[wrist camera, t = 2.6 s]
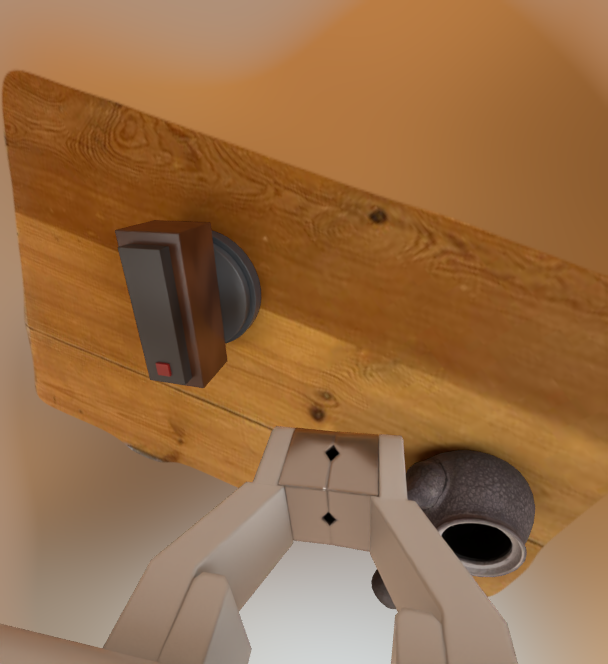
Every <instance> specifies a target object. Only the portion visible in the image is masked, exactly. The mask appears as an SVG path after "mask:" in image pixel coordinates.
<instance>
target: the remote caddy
mask: <svg viewBox="0 0 608 664" xmlns="http://www.w3.org/2000/svg"><path fill="white" fill-rule="evenodd" d="M115 233H116V237H117V241H118V245H119V247H118V250H119V255H120V259H121V263H122V267H123V271H124V275H125V279H126V283H127V287H128V291H129V295H130V299H131V303H132V307H133V312H134V316H135V320H136V324H137V328H138V332H139V336H140V340H141V344H142V348H143V352H144V356H145V360H146V365H147V369H148V373H149V377H150V380H155V381H161V382H168V383H174V384H180V385H187V386H193V387H199V388H204V387H205V386H206V385H207V384H208V383H209V382H210V380H211V379H212V378H213V377H214V376H215V375H216V373H217V372H218V371H219V370H220V369H221V368H222V367H223V365H224V364H225V363H226V362H227V354H226V346H225V342H226V341H228V340H229V339H231V338H232V337H233V336H235V335H236V334H237V333H238V331H239V330H240V329H241V328H242V327H243V325H244V324H245V322H246V320H247V318H248V314H249V311H250V292H249V288H248V284H247V281H246V279H245V276H244V274H243V272H242V270H241V269H240V267H239V266H238V264H237V263H236V262H235V260H234V259H233V258H232V257H231V256H230V255H229V254H228V253H227V252H226V251H225V250H223V249H222V248H220V247H219V246H217V245H216V244H214V243H213V239H212V231H211V223H210V222H186V221H160V220H154V221H150V222H146V223H142V224H138V225H134V226H130V227H126V228H122V229H117V230H115Z"/></svg>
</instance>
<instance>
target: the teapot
mask: <svg viewBox="0 0 608 664" xmlns="http://www.w3.org/2000/svg"><path fill="white" fill-rule="evenodd" d="M406 486H407V499H408V500H410V501H415V502H416V503H417V504H418V506H419V507H420V508H421V510H422V511H423V512H424V514H425V515H426V516H427V518H428V519H429V520H430V522H431V523H432V524H433V526H434V527H435V528H436V530H437V531H438V532H439V534H440V535H441V536H442V538H443V539H444V540H445V542H446V543H447V544H448V546H449V547H450V548H451V549H452V551H453V552H454V553H455V555H456V556H457V557H458V559H459V560H460V561H461V563H462V564H463V565H464V567H465V568H466V569H467V571H468V572H469V573H470V575H473V576H478V577H497V576H502V575H506V574H508V573H510V572H513V571H515V570H517V569H518V568H519V567H520V566H521V565H522V564H523V562H524V561H525V558H526V547H525V543H526V541H527V539H528V537H529V535H530V532H531V529H532V526H533V523H534V516H535V504H534V498H533V494H532V491H531V489H530V487H529V484H528V483H527V481H526V480H525V478H524V477H523V476H522V474H521V473H520V472H519V471H518V470H517V469H516V468H515V467H513V466H512V465H510V464H509V463H507V462H506V461H504V460H502V459H500V458H497V457H495V456H493V455H490V454H486V453H482V452H477V451H471V450H458V451H451V452H445V453H440V454H438V455H436V456H434V457H431V458H429V459H427V460H425V461H422V462H418V463H415V464H414V465H412V466H411V467H410V468H409V469H408V471H407V473H406ZM372 589H373V591H374V593H375V595H376V597H377V598H378V599H379V601H380V602H381V603H383V604H384V605H385V606H386V607H388V608H390V609H396V607H395V605H394V603H393V601H392V599H391V597H390V595H389V592H388V590H387V588H386V586H385V584H384V582H383V580H382V578H381V576H380V574H379V571H378V569H377V570H376V572H375V573H374V575H373V577H372Z"/></svg>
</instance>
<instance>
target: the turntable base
mask: <svg viewBox="0 0 608 664" xmlns="http://www.w3.org/2000/svg"><path fill="white" fill-rule="evenodd" d="M211 231H212V230H211ZM212 239H213V243H214V244H216V245H217V246H219V247H220V248H222V249H223V250H225V251H226V252H227V253H228V254H229V255H230V256H231V257H232V258H233V259H234V260H235V262H236V263H237V264H238V266H239V267H240V269H241V270H242V272H243V274H244V276H245V279H246V281H247V284H248V288H249V292H250V311H249V314H248V318H247V320H246V322H245V324H244V325H243V327H242V328H241V329H240V330H239V331H238V333H237V334H236V335H235V336H233V337H232V338H231V339H229V340H228V341H226V342H225V343H228V342H231V341H233V340H235V339H237V338H238V337H240V336H241V335H242V334H243V333H244V332H245V331H246V330H247V329H248V328H249V327H250V326H251V325H252V323H253V322H254V320H255V319H256V317H257V314H258V312H259V308H260V303H261V288H260V282H259V278H258V275H257V273H256V270H255V268H254V266H253V264H252V262H251V261H250V259H249V258H248V256H247V255H246V254H245V253H244V251H243V250H242V249H241V248H240V247H239V246H238V245H237V244H236V243H234V242H233V241H232V240H230V239H229V238H227V237H226V236H224V235H222V234H220V233H218V232H215V231H212Z"/></svg>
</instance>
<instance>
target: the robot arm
mask: <svg viewBox="0 0 608 664" xmlns="http://www.w3.org/2000/svg"><path fill="white" fill-rule="evenodd" d="M293 540H295V541H303V542H312V543H321V544H329V545H335V546H341V547H346V548H353V549H358V550H363V551H369V552H370V554H371V557H372V559H373V561H374V563H375V565H376V567H377V569H378V571H379V574H380V576H381V578H382V580H383V582H384V584H385V586H386V588H387V590H388V592H389V595H390V597H391V599H392V601H393V603H394V605H395V607H396V609H397V611H398V613H397V614H396V615H395V624H394V636H393V647H392V659H391V664H518V662H517V658H516V654H515V651H514V647H513V643H512V639H511V635H510V631H509V628H508V624H507V622H506V621H505V620H504V619H503V617H502V616H501V614H500V613H499V612H498V610H497V609H496V608H495V607H494V605H493V604H492V603H491V601H490V600H489V599H488V597H487V596H486V595H485V593H484V592H483V591H482V589H481V588H480V587H479V585H478V584H477V583H476V581H475V580H474V579H473V577H472V576H471V575H470V573H469V572H468V571H467V569H466V568H465V567H464V565H463V564H462V563H461V561H460V560H459V559H458V557H457V556H456V555H455V553H454V552H453V551H452V549H451V548H450V547H449V546H448V544H447V543H446V542H445V540H444V539H443V538H442V536H441V535H440V534H439V532H438V531H437V530H436V528H435V527H434V526H433V524H432V523H431V522H430V520H429V519H428V518H427V516H426V515H425V514H424V512H423V511H422V510H421V508H420V507H419V506H418V504H417V503H416V502H415V501H410V500H408V499H407V486H406V472H405V459H404V446H403V438H402V436H396V435H381V434H366V433H351V432H333V431H323V430H314V429H304V428H290V427H281V426H276V427H275V428H274V429H273V430H272V432H271V435H270V437H269V440H268V443H267V445H266V448H265V451H264V453H263V456H262V459H261V461H260V464H259V467H258V469H257V472H256V475H255V477H254V480H253V482H246V483H244V484H243V485H242V486H241V487H239V488H238V489H237V490H236V491H235V492H233V493H232V494H231V495H230V496H228V497H227V498H226V499H225V500H224V501H222V502H221V503H220V504H219V505H218V506H216V507H215V508H214V509H213V510H211V511H210V512H209V513H208V514H207V515H205V516H204V517H203V518H202V519H200V520H199V521H198V522H197V523H196V524H194V525H193V526H192V527H191V528H190V529H188V530H187V531H186V532H185V533H183V534H182V535H181V536H180V537H178V538H177V539H176V540H175V541H174V542H172V543H171V544H170V545H169V546H168V547H166V548H165V549H164V550H163V551H161V552H160V553H159V554H158V555H156V556H155V557H154V558H153V559H152V560H151V561H150V563H149V565H148V566H147V568H146V570H145V572H144V574H143V576H142V577H141V579H140V581H139V583H138V585H137V586H136V588H135V590H134V592H133V594H132V596H131V598H130V599H129V601H128V603H127V605H126V606H125V608H124V610H123V612H122V614H121V615H120V617H119V619H118V621H117V623H116V625H115V627H114V628H113V630H112V632H111V634H110V635H109V637H108V639H107V641H106V643H105V645H104V647H103V648H98V647H94V646H90V645H86V644H82V643H78V642H74V641H70V640H65V639H61V638H57V637H53V636H49V635H45V634H41V633H37V632H32V631H29V630H24V629H20V628H16V627H12V626H8V625H4V624H0V664H248V661H249V657H250V653H251V646H250V643H249V640H248V637H247V634H246V632H245V629H244V626H243V623H242V620H241V617H240V614H239V611H240V609H241V608H242V607H243V606H244V604H245V603H246V602H247V601H248V599H249V598H250V597H251V596H252V594H253V593H254V592H255V590H256V589H257V588H258V587H259V586H260V584H261V583H262V582H263V581H264V579H265V578H266V576H268V574H269V573H270V572H271V570H272V569H273V568H274V567H275V566H276V564H277V563H278V562H279V560H280V559H281V558H282V557H283V555H284V554H285V553H286V552H287V550H288V549H289V548H290V547H291V545H292V544H293Z"/></svg>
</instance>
